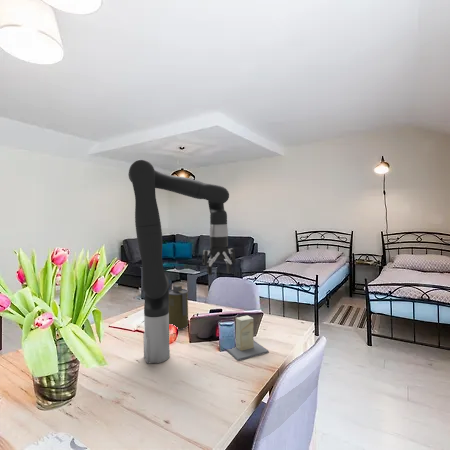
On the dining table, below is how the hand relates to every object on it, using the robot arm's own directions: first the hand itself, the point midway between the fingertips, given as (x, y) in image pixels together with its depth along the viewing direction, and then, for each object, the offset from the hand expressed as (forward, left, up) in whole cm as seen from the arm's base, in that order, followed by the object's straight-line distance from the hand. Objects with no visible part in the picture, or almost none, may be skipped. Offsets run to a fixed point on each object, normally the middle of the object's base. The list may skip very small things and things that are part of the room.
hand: (219, 274), depth 121 cm
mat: (+7, -8, -30) cm, 32 cm away
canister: (-9, +29, -30) cm, 43 cm away
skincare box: (+7, -8, -30) cm, 31 cm away
